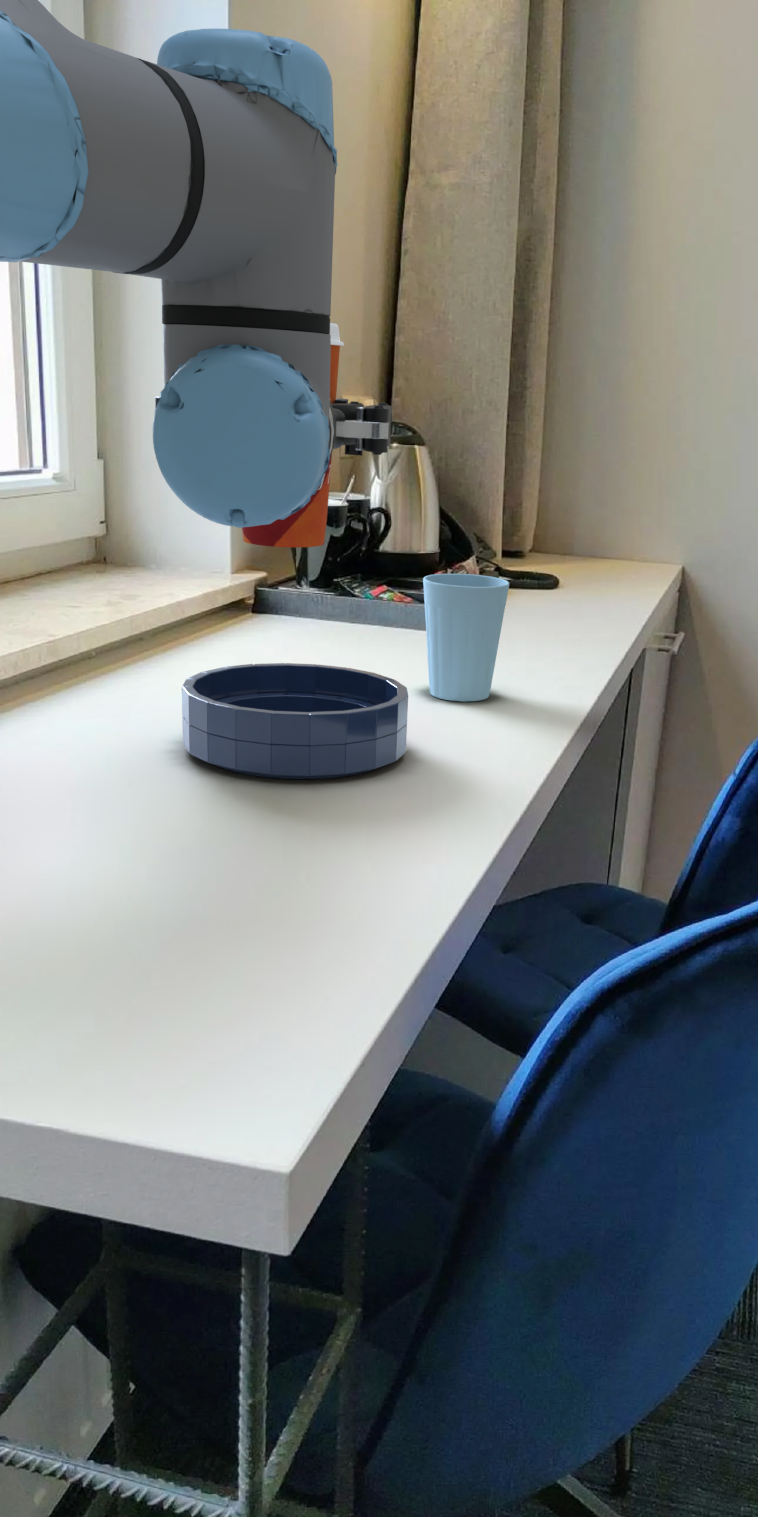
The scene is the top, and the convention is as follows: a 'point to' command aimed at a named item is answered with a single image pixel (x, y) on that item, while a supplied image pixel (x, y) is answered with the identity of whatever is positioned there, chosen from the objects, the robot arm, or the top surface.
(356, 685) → the bowl
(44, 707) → the top surface
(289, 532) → the paper cup
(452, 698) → the cup
